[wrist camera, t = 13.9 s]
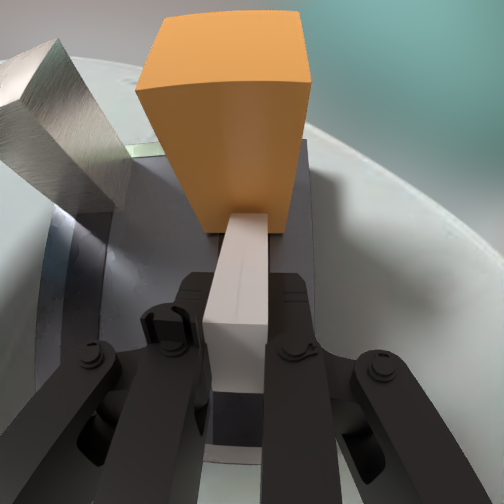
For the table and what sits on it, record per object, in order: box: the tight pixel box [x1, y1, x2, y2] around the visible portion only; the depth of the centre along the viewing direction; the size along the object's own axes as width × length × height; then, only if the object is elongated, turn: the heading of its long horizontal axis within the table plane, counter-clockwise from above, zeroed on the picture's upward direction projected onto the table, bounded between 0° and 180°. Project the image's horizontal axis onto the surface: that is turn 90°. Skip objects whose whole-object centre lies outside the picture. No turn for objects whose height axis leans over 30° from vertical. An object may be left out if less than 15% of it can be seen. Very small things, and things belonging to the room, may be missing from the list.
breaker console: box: [0, 38, 315, 465], centre depth 12 cm, size 18×16×13 cm
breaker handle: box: [135, 10, 312, 233], centre depth 11 cm, size 4×4×10 cm
